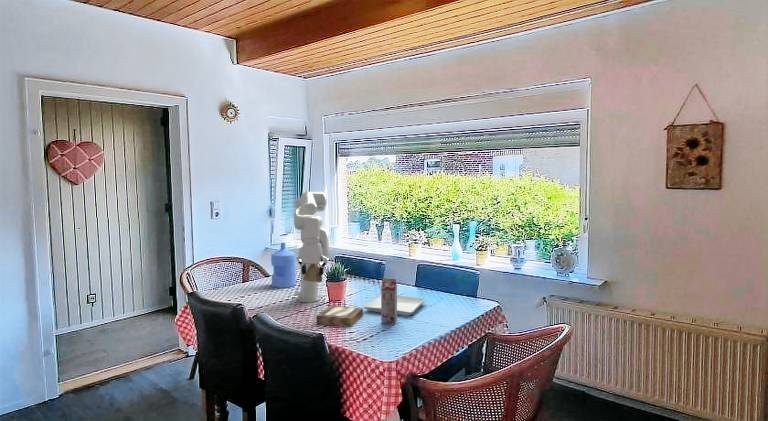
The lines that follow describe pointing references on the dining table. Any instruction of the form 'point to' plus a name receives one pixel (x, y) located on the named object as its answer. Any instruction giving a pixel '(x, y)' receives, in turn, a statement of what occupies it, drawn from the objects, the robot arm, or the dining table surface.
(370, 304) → the square plate
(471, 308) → the dining table surface
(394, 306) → the juice carton
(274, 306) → the dining table surface
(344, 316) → the stand
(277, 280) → the water jug
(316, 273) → the rock
